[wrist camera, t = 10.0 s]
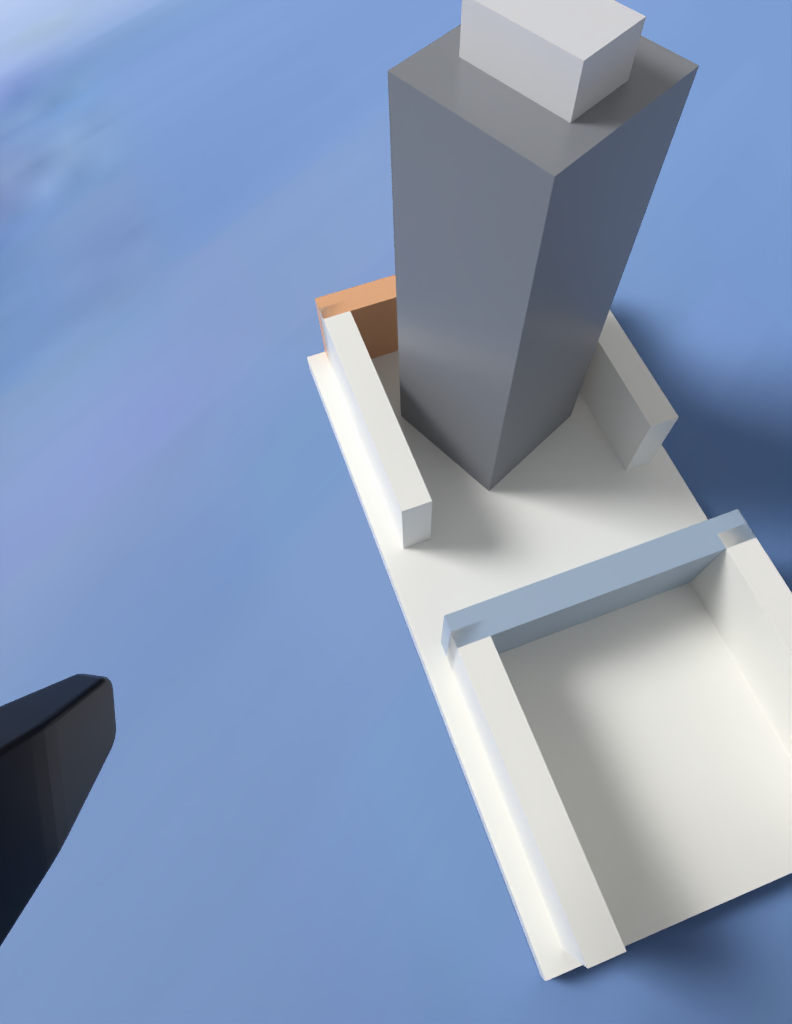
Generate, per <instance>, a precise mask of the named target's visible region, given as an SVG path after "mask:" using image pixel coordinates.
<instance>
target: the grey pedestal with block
mask: <svg viewBox="0 0 792 1024" xmlns="http://www.w3.org/2000/svg"><path fill="white" fill-rule="evenodd" d="M645 18H646V16H644V15H642V14H640V13H638V12H636V11H634V10H632V9H630V8H628V7H626V6H624V5H622V4H620V3H618V2H616V1H614V0H462V13H461V24H460V25H459V26H457V27H456V28H454V29H453V30H451V31H450V32H448V33H446V34H445V35H443V36H442V37H440V38H439V39H437V40H435V41H434V42H432V43H431V44H429V45H428V46H426V47H424V48H423V49H421V50H420V51H418V52H417V53H415V54H414V55H412V56H410V57H409V58H407V59H406V60H404V61H403V62H401V63H399V64H398V65H396V66H395V67H393V68H392V69H390V70H389V71H388V90H389V116H390V142H391V169H392V195H393V221H394V247H395V273H396V300H397V326H398V352H399V378H400V405H401V416H402V417H403V418H404V419H405V420H406V421H408V422H409V423H410V424H411V425H412V426H413V427H415V428H416V429H417V430H418V431H419V432H420V433H422V434H423V435H424V436H425V437H426V438H427V439H429V440H430V441H431V442H432V443H433V444H434V445H436V446H437V447H438V448H439V449H440V450H441V451H443V452H444V453H445V454H446V455H447V456H448V457H450V458H451V459H452V460H453V461H454V462H455V463H457V464H458V465H459V466H460V467H461V468H462V469H464V470H465V471H466V472H467V473H468V474H469V475H471V476H472V477H473V478H474V479H475V480H476V481H478V482H479V483H480V484H481V485H482V486H483V487H485V488H486V489H487V490H488V491H490V490H491V489H492V488H493V487H494V486H495V485H496V484H497V483H498V482H500V481H501V480H502V479H503V478H504V477H505V476H506V475H507V474H508V473H509V472H510V471H511V470H512V469H514V468H515V467H516V466H517V465H518V464H519V463H520V462H521V461H522V460H523V459H524V458H525V457H527V456H528V455H529V454H530V453H531V452H532V451H533V450H534V449H535V448H536V447H537V446H538V445H540V444H541V443H542V442H543V441H544V440H545V439H546V438H547V437H548V436H549V435H550V434H551V433H553V432H554V431H555V430H556V429H557V428H558V427H559V426H560V425H561V424H562V423H563V422H564V421H566V420H567V419H568V418H569V417H570V416H571V414H572V411H573V408H574V405H575V403H576V400H577V397H578V395H579V392H580V389H581V386H582V384H583V381H584V378H585V375H586V373H587V370H588V367H589V365H590V362H591V359H592V356H593V354H594V351H595V348H596V345H597V343H598V340H599V337H600V334H601V332H602V329H603V326H604V324H605V321H606V318H607V315H608V313H609V310H610V307H611V304H612V302H613V299H614V296H615V294H616V291H617V288H618V285H619V283H620V280H621V277H622V274H623V272H624V269H625V266H626V263H627V261H628V258H629V255H630V253H631V250H632V247H633V244H634V242H635V239H636V236H637V233H638V231H639V228H640V225H641V223H642V220H643V217H644V214H645V212H646V209H647V206H648V203H649V201H650V198H651V195H652V192H653V190H654V187H655V184H656V182H657V179H658V176H659V173H660V171H661V168H662V165H663V162H664V160H665V157H666V154H667V152H668V149H669V146H670V143H671V141H672V138H673V135H674V132H675V130H676V127H677V124H678V121H679V119H680V116H681V113H682V111H683V108H684V105H685V102H686V100H687V97H688V94H689V91H690V89H691V86H692V83H693V81H694V78H695V75H696V72H697V70H698V67H699V65H697V64H695V63H693V62H691V61H689V60H687V59H685V58H683V57H681V56H679V55H677V54H675V53H674V52H672V51H670V50H668V49H666V48H664V47H662V46H660V45H658V44H656V43H654V42H652V41H650V40H649V39H647V38H645V37H643V36H641V32H642V29H643V25H644V22H645Z"/></svg>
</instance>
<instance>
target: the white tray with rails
mask: <svg viewBox="0 0 792 1024" xmlns="http://www.w3.org/2000/svg"><path fill="white" fill-rule="evenodd" d="M315 301H316V306H317V312H318V317H319V322H320V327H321V333H322V338H323V343H324V348H325V352H322V353H319V354H316V355H313V356H309V357H307V359H308V363H309V368H310V371H311V374H312V376H313V379H314V382H315V384H316V387H317V389H318V392H319V395H320V397H321V400H322V403H323V405H324V408H325V410H326V413H327V416H328V418H329V421H330V424H331V426H332V429H333V431H334V434H335V437H336V439H337V442H338V445H339V447H340V450H341V452H342V455H343V458H344V460H345V463H346V466H347V468H348V471H349V473H350V476H351V479H352V481H353V484H354V487H355V489H356V492H357V495H358V497H359V500H360V502H361V505H362V508H363V510H364V513H365V516H366V518H367V521H368V523H369V526H370V529H371V531H372V534H373V537H374V539H375V542H376V544H377V547H378V550H379V552H380V555H381V558H382V560H383V563H384V565H385V568H386V571H387V573H388V576H389V579H390V581H391V584H392V586H393V589H394V592H395V594H396V597H397V600H398V602H399V605H400V607H401V610H402V613H403V615H404V618H405V621H406V623H407V626H408V628H409V631H410V634H411V636H412V639H413V642H414V644H415V647H416V649H417V652H418V655H419V657H420V660H421V663H422V665H423V668H424V670H425V673H426V676H427V678H428V681H429V684H430V686H431V689H432V691H433V694H434V697H435V699H436V702H437V705H438V707H439V710H440V712H441V715H442V718H443V720H444V723H445V726H446V728H447V731H448V733H449V736H450V739H451V741H452V744H453V747H454V749H455V752H456V754H457V757H458V760H459V762H460V765H461V768H462V770H463V773H464V775H465V778H466V781H467V783H468V786H469V789H470V791H471V794H472V796H473V799H474V802H475V804H476V807H477V810H478V812H479V815H480V817H481V820H482V823H483V825H484V828H485V831H486V833H487V836H488V838H489V841H490V844H491V846H492V849H493V852H494V854H495V857H496V859H497V862H498V865H499V867H500V870H501V873H502V875H503V878H504V881H505V883H506V886H507V888H508V891H509V894H510V896H511V899H512V902H513V904H514V907H515V909H516V912H517V915H518V917H519V920H520V923H521V925H522V928H523V930H524V933H525V936H526V938H527V941H528V944H529V946H530V949H531V951H532V954H533V957H534V959H535V962H536V965H537V967H538V970H539V972H540V975H541V977H542V978H543V979H544V980H545V981H547V980H550V979H552V978H554V977H557V976H559V975H561V974H563V973H566V972H568V971H570V970H572V969H575V968H577V967H579V966H582V965H584V966H585V967H586V968H590V967H593V966H595V965H597V964H600V963H602V962H604V961H606V960H609V959H611V958H613V957H615V956H618V955H620V954H622V953H624V952H627V951H626V949H625V946H627V945H629V944H631V943H634V942H636V941H638V940H640V939H643V938H645V937H647V936H650V935H652V934H654V933H656V932H659V931H661V930H663V929H665V928H668V927H670V926H672V925H674V924H677V923H679V922H681V921H684V920H686V919H688V918H690V917H693V916H695V915H697V914H699V913H702V912H704V911H706V910H709V909H711V908H713V907H715V906H718V905H720V904H722V903H724V902H727V901H729V900H731V899H733V898H736V897H738V896H740V895H743V894H745V893H747V892H749V891H752V890H754V889H756V888H758V887H761V886H763V885H765V884H767V883H770V882H772V881H774V880H777V879H779V878H781V877H783V876H786V875H788V874H790V873H792V593H791V591H790V589H789V588H788V586H787V585H786V583H785V582H784V580H783V579H782V577H781V575H780V574H779V572H778V571H777V569H776V568H775V566H774V565H773V563H772V561H771V560H770V558H769V557H768V555H767V554H766V552H765V551H764V549H763V547H762V546H761V544H760V543H759V541H758V540H757V538H756V537H755V535H754V533H753V532H752V530H751V529H750V527H749V526H748V524H747V522H746V521H745V519H744V518H743V516H742V515H741V513H740V512H739V510H738V509H736V510H733V511H731V512H728V513H725V514H722V515H720V516H717V517H714V518H711V519H709V520H708V519H707V517H706V516H705V514H704V512H703V511H702V509H701V507H700V506H699V504H698V503H697V501H696V499H695V498H694V496H693V494H692V493H691V491H690V490H689V488H688V486H687V485H686V483H685V482H684V480H683V478H682V477H681V475H680V473H679V472H678V470H677V469H676V467H675V465H674V464H673V462H672V460H671V459H670V457H669V456H668V454H667V452H666V451H665V449H664V447H663V446H662V443H663V441H664V440H665V438H666V437H667V435H668V433H669V432H670V430H671V429H672V427H673V425H674V424H675V422H676V421H677V419H678V415H677V413H676V412H675V410H674V409H673V407H672V406H671V404H670V403H669V401H668V399H667V398H666V396H665V395H664V393H663V392H662V390H661V388H660V387H659V385H658V384H657V382H656V381H655V379H654V378H653V376H652V374H651V373H650V371H649V370H648V368H647V367H646V365H645V364H644V362H643V360H642V359H641V357H640V356H639V354H638V353H637V351H636V350H635V348H634V346H633V345H632V343H631V342H630V340H629V339H628V337H627V336H626V334H625V332H624V331H623V329H622V328H621V326H620V325H619V323H618V321H617V320H616V318H615V317H614V315H613V314H612V312H611V311H610V310H609V313H608V315H607V318H606V321H605V324H604V326H603V329H602V332H601V334H600V337H599V340H598V343H597V345H596V348H595V351H594V354H593V356H592V359H591V362H590V365H589V367H588V370H587V373H586V375H585V378H584V381H583V384H582V386H581V389H580V392H579V395H578V397H577V400H576V403H575V405H574V408H573V411H572V414H571V416H570V417H569V418H568V419H567V420H566V421H564V422H563V423H562V424H561V425H560V426H559V427H558V428H557V429H556V430H555V431H554V432H553V433H551V434H550V435H549V436H548V437H547V438H546V439H545V440H544V441H543V442H542V443H541V444H540V445H538V446H537V447H536V448H535V449H534V450H533V451H532V452H531V453H530V454H529V455H528V456H527V457H525V458H524V459H523V460H522V461H521V462H520V463H519V464H518V465H517V466H516V467H515V468H514V469H512V470H511V471H510V472H509V473H508V474H507V475H506V476H505V477H504V478H503V479H502V480H501V481H500V482H498V483H497V484H496V485H495V486H494V487H493V488H492V489H491V490H490V491H488V490H487V489H486V488H485V487H483V486H482V485H481V484H480V483H479V482H478V481H476V480H475V479H474V478H473V477H472V476H471V475H469V474H468V473H467V472H466V471H465V470H464V469H462V468H461V467H460V466H459V465H458V464H457V463H455V462H454V461H453V460H452V459H451V458H450V457H448V456H447V455H446V454H445V453H444V452H443V451H441V450H440V449H439V448H438V447H437V446H436V445H434V444H433V443H432V442H431V441H430V440H429V439H427V438H426V437H425V436H424V435H423V434H422V433H420V432H419V431H418V430H417V429H416V428H415V427H413V426H412V425H411V424H410V423H409V422H408V421H406V420H405V419H404V418H403V417H402V416H401V405H400V378H399V352H398V326H397V300H396V275H393V276H390V277H386V278H383V279H379V280H376V281H373V282H369V283H366V284H363V285H359V286H356V287H352V288H349V289H346V290H342V291H339V292H336V293H332V294H329V295H325V296H322V297H319V298H315Z"/></svg>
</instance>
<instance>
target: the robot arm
mask: <svg viewBox="0 0 792 1024" xmlns="http://www.w3.org/2000/svg"><path fill="white" fill-rule="evenodd" d="M115 734H116V722H115V709H114V697H113V687H112V683H111V681H110V680H109V679H108V678H107V677H103V676H96V675H88V674H76V675H74V676H71V677H69V678H67V679H64V680H62V681H60V682H57V683H55V684H52V685H50V686H48V687H45V688H43V689H41V690H38V691H36V692H34V693H31V694H29V695H27V696H24V697H22V698H19V699H17V700H15V701H12V702H10V703H8V704H5V705H3V706H1V707H0V946H1V944H2V943H3V941H4V940H5V938H6V936H7V935H8V933H9V932H10V930H11V929H12V927H13V925H14V924H15V922H16V921H17V919H18V917H19V916H20V914H21V913H22V911H23V910H24V908H25V906H26V905H27V903H28V902H29V900H30V898H31V897H32V895H33V894H34V892H35V891H36V889H37V887H38V886H39V884H40V883H41V881H42V879H43V878H44V876H45V875H46V873H47V871H48V870H49V868H50V867H51V865H52V863H53V862H54V860H55V858H56V857H57V855H58V853H59V851H60V850H61V848H62V846H63V844H64V842H65V840H66V838H67V836H68V835H69V833H70V831H71V829H72V827H73V825H74V823H75V821H76V819H77V817H78V815H79V812H80V810H81V808H82V806H83V804H84V802H85V800H86V798H87V796H88V794H89V792H90V790H91V788H92V786H93V784H94V782H95V780H96V778H97V776H98V774H99V772H100V770H101V768H102V766H103V764H104V762H105V760H106V758H107V756H108V754H109V752H110V750H111V748H112V746H113V743H114V739H115Z"/></svg>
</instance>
